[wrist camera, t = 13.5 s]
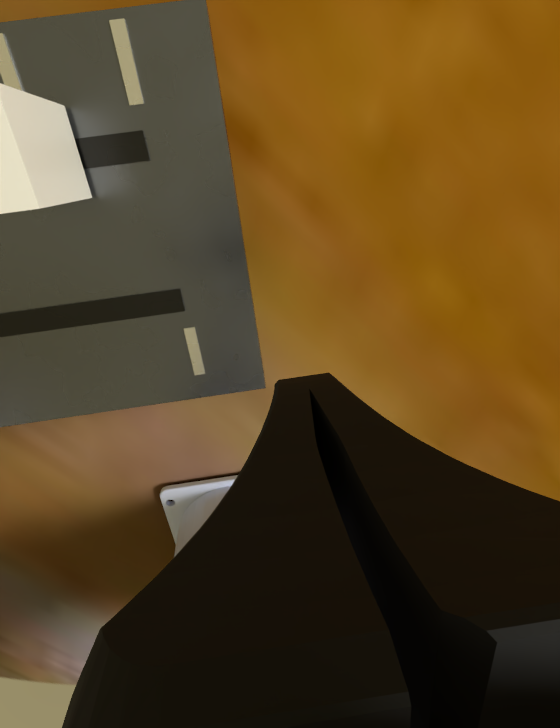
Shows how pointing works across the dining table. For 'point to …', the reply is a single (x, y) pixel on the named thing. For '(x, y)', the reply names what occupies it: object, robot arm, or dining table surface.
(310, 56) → the dining table surface
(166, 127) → the console
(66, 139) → the fader
